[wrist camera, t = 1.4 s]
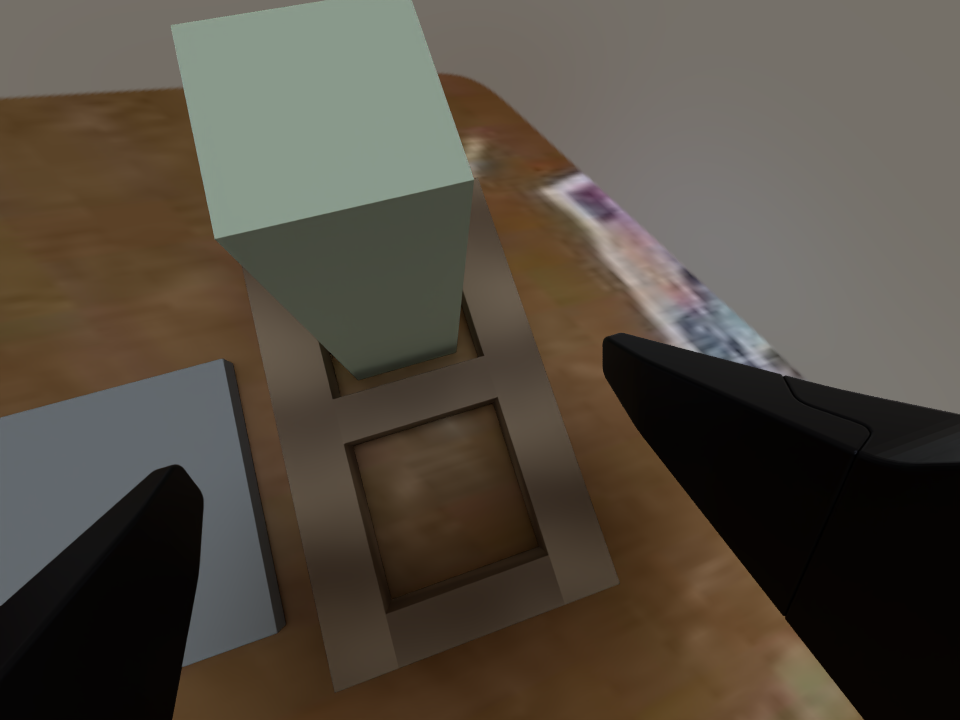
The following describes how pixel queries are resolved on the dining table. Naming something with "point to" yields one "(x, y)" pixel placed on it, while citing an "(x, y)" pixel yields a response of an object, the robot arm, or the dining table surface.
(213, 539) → the grey mat
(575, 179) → the dining table surface
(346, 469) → the puzzle board
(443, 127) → the sage block
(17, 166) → the dining table surface
